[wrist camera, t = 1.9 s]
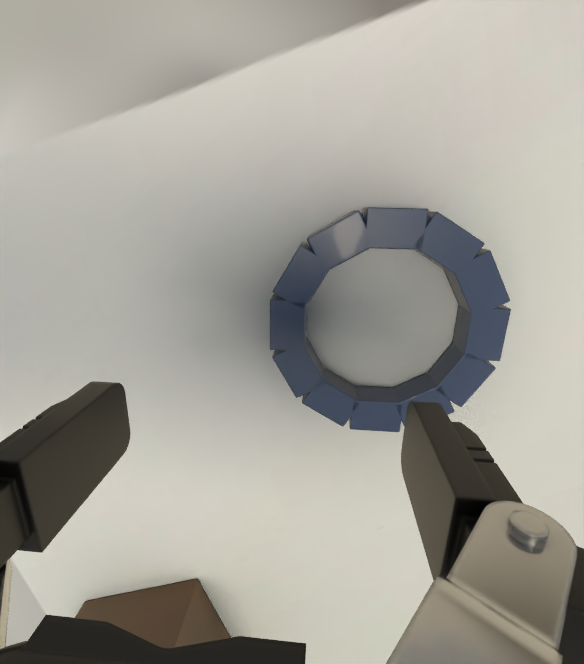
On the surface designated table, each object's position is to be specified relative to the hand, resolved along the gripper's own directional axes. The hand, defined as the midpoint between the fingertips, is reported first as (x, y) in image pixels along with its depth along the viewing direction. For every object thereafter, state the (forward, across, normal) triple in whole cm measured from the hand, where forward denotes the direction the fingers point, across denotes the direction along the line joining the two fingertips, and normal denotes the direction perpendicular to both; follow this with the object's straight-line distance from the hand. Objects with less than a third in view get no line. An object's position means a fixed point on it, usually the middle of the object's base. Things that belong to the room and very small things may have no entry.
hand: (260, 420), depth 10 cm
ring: (+11, -5, 0) cm, 12 cm away
